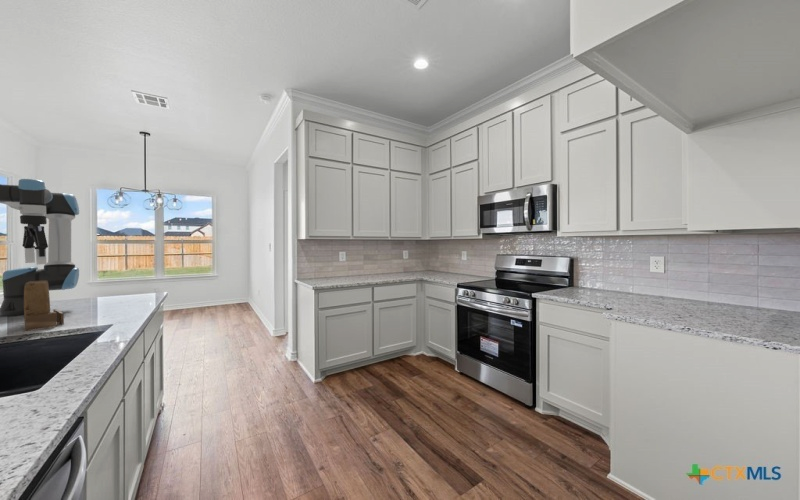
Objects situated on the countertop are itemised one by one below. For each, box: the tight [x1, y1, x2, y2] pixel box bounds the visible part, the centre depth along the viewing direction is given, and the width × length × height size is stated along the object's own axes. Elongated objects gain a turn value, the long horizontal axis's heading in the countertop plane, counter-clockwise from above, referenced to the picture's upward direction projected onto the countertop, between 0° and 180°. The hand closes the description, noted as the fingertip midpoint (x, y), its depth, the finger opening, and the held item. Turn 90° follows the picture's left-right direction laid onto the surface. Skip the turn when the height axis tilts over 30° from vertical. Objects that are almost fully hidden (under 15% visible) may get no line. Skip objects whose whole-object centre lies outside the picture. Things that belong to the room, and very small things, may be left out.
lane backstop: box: [24, 312, 58, 332], centre depth 136 cm, size 1×9×6 cm, turn 147°
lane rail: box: [52, 308, 65, 325], centre depth 146 cm, size 14×1×5 cm, turn 57°
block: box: [23, 280, 51, 319], centre depth 139 cm, size 11×8×20 cm
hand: (35, 263), depth 138 cm, fingers open, 13 cm apart
